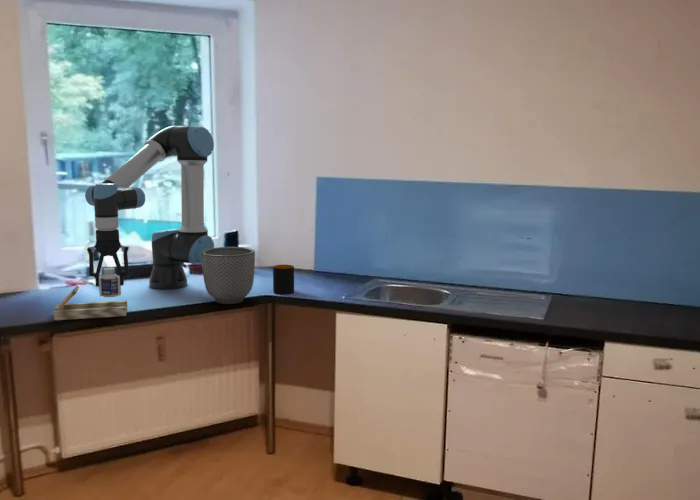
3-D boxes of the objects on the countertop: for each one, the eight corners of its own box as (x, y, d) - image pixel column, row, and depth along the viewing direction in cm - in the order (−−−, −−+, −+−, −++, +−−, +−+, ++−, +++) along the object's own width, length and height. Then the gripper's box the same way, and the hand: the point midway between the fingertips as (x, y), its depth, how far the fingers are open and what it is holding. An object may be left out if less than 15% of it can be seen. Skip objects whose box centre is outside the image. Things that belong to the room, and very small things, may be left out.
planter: (229, 292, 273) (228, 244, 269) (266, 299, 262) (266, 250, 258) (191, 302, 257) (189, 251, 253) (229, 310, 246) (228, 257, 242)
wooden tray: (127, 308, 247) (126, 299, 246) (126, 315, 237) (125, 306, 237) (58, 312, 241) (57, 302, 240) (54, 320, 232) (53, 310, 231)
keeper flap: (79, 287, 241) (77, 285, 240) (76, 292, 233) (74, 291, 232) (65, 301, 240) (62, 300, 240) (61, 307, 232) (59, 306, 232)
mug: (289, 287, 282) (289, 262, 280) (296, 293, 271) (296, 268, 269) (269, 288, 280) (268, 263, 278) (275, 295, 268) (275, 269, 266)
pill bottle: (113, 298, 237) (111, 270, 235) (99, 297, 238) (97, 269, 236) (121, 294, 242) (120, 267, 240) (107, 293, 243) (106, 266, 241)
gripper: (135, 226, 242) (138, 291, 246) (79, 228, 237) (83, 293, 241) (134, 229, 235) (137, 296, 238) (77, 231, 230) (81, 298, 234)
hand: (110, 294), depth 240 cm, fingers closed on pill bottle, 5 cm apart
